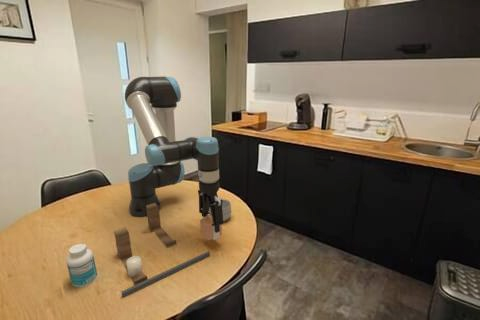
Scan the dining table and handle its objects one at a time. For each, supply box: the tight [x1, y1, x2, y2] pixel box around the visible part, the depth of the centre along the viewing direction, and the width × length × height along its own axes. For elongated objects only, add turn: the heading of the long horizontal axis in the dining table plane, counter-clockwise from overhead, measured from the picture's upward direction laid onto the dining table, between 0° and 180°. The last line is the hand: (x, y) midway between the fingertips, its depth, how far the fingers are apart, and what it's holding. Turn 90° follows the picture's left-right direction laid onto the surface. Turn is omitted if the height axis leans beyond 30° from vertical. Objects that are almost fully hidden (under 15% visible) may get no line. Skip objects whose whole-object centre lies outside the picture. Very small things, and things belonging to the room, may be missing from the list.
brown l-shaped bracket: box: [113, 226, 148, 286], centre depth 91 cm, size 20×4×12 cm, turn 38°
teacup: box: [208, 197, 232, 222], centre depth 126 cm, size 14×11×8 cm
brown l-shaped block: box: [146, 203, 177, 248], centre depth 109 cm, size 20×4×12 cm, turn 38°
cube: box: [199, 215, 223, 241], centre depth 102 cm, size 6×6×6 cm
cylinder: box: [126, 255, 143, 278], centre depth 88 cm, size 4×4×5 cm
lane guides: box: [120, 250, 211, 298], centre depth 97 cm, size 24×31×3 cm
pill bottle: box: [65, 243, 98, 288], centre depth 85 cm, size 8×7×14 cm
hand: (211, 234), depth 103 cm, fingers closed on cube, 6 cm apart
